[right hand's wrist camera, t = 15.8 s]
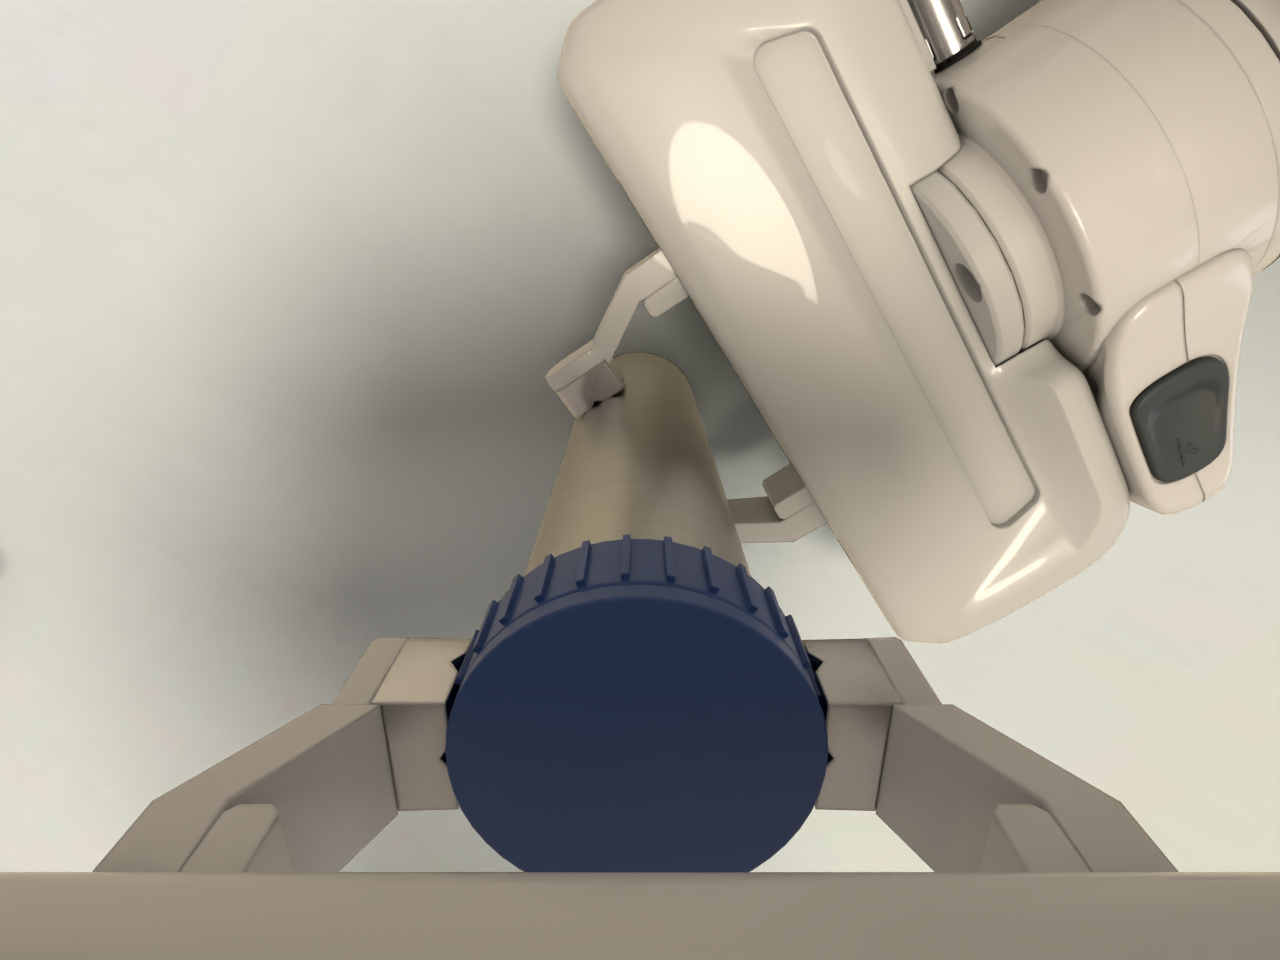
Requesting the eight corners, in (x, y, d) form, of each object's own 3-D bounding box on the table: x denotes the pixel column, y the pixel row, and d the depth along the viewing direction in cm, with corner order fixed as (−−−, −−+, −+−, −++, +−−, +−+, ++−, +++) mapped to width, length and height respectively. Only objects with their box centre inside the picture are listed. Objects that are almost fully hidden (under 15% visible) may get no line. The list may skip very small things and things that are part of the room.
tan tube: (591, 342, 25) (497, 572, 9) (704, 362, 25) (828, 622, 9) (575, 451, 27) (469, 826, 10) (682, 468, 27) (753, 862, 10)
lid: (403, 694, 10) (360, 777, 9) (622, 460, 9) (618, 509, 8) (649, 858, 12) (650, 956, 10) (874, 672, 10) (916, 752, 9)
